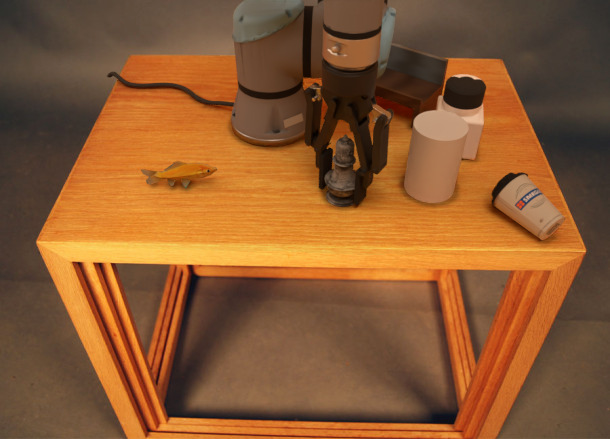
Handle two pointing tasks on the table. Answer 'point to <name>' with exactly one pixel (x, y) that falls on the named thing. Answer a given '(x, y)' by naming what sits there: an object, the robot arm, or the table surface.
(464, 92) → the container
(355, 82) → the robot arm
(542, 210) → the coffee cup
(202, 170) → the fish
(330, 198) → the salt shaker
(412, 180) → the beige cylinder
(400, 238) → the table surface
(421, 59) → the spice rack
